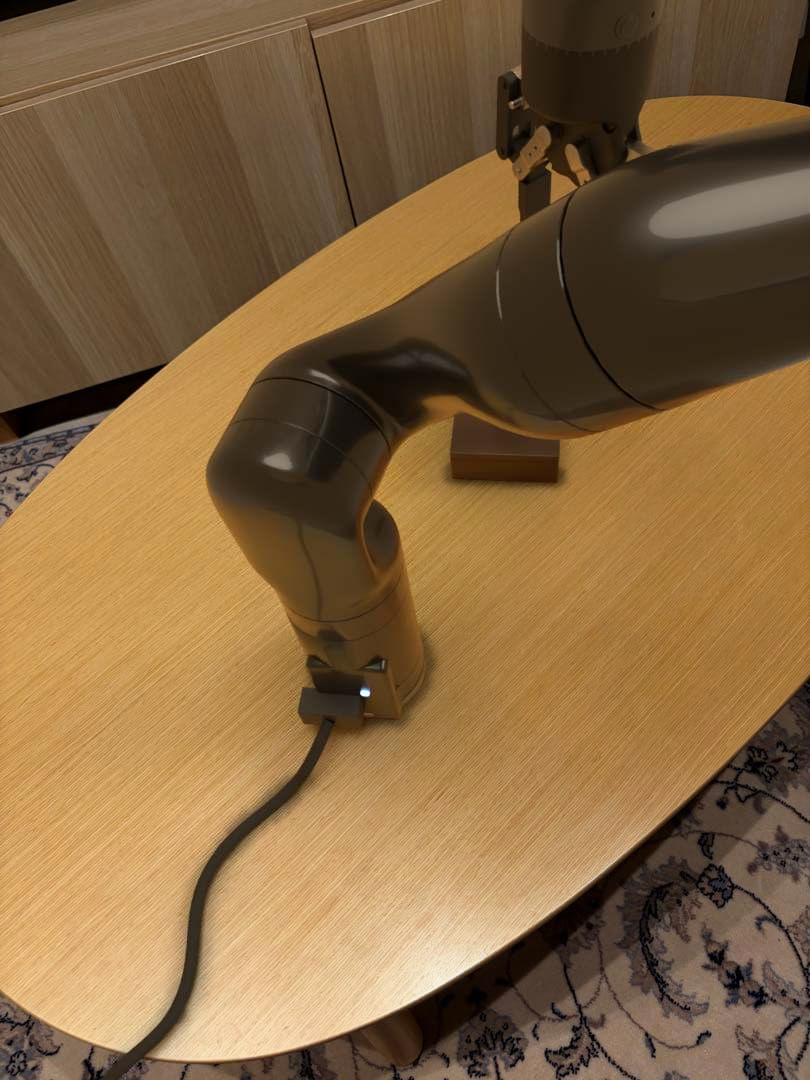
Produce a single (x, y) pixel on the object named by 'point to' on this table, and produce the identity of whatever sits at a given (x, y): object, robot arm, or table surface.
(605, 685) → the table surface
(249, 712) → the table surface
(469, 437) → the walnut box
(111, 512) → the table surface
